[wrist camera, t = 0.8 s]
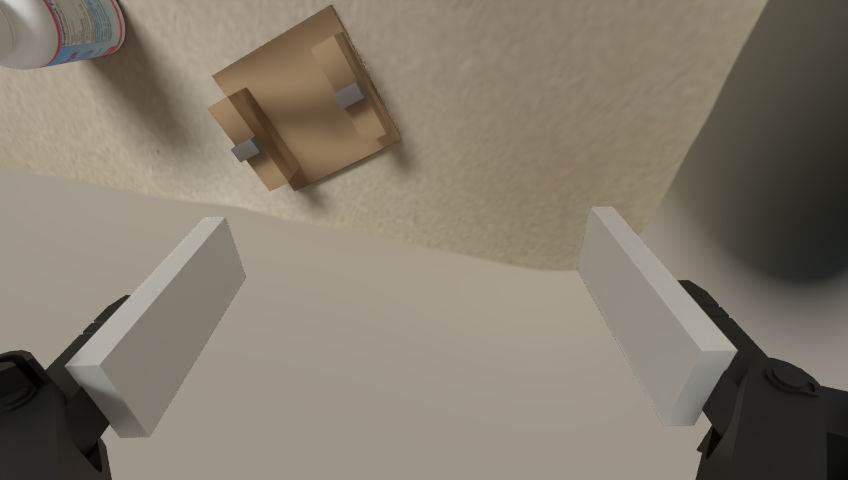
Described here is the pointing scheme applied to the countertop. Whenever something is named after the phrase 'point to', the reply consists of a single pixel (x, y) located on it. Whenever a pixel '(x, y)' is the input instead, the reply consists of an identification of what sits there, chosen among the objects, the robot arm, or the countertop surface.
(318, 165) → the clip stand
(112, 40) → the pill bottle
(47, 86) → the countertop surface
